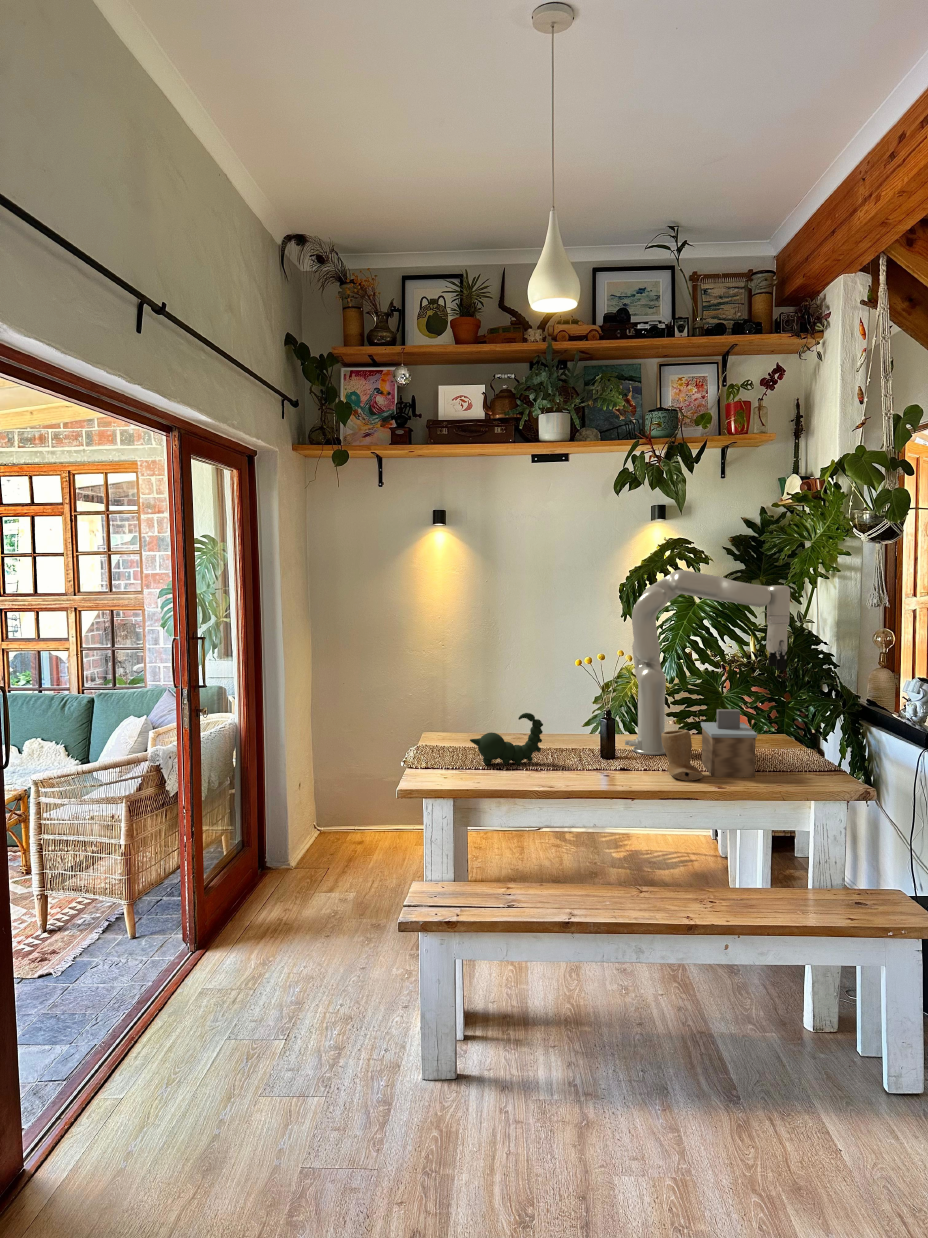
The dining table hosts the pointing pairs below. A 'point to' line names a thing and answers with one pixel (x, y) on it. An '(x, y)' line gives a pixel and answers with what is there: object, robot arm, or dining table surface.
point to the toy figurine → (510, 745)
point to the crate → (728, 756)
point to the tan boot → (679, 755)
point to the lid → (728, 725)
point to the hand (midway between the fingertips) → (776, 668)
